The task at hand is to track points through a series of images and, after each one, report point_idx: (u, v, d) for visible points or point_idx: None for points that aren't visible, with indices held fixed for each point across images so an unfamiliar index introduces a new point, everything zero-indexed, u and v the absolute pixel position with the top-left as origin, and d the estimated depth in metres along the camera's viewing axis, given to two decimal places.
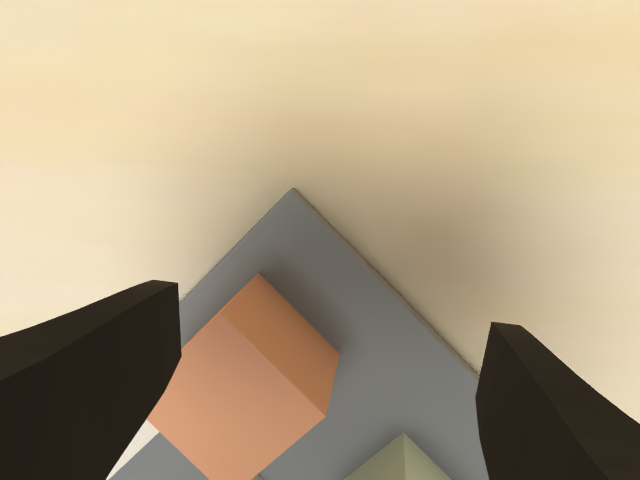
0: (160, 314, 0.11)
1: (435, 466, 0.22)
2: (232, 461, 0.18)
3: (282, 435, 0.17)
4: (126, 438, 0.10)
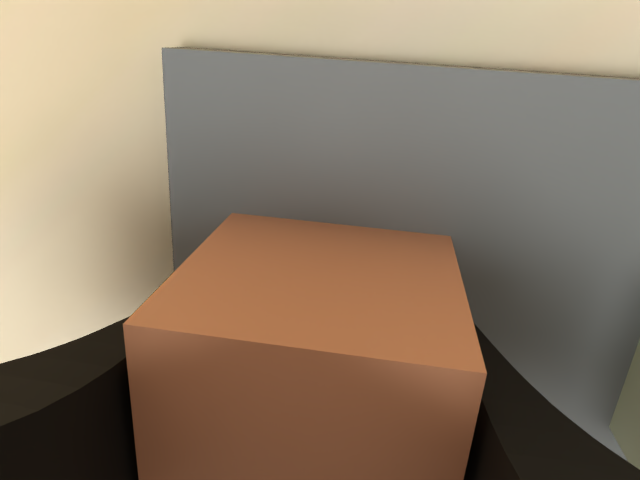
0: None
1: None
2: None
3: (431, 464, 0.07)
4: None
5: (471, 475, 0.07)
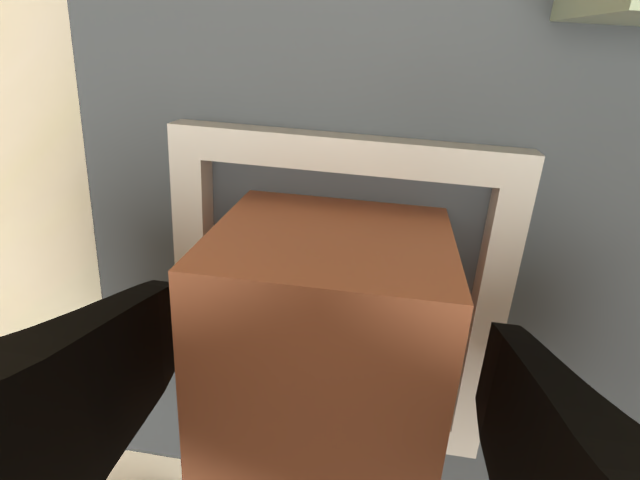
0: (160, 314, 0.11)
1: None
2: (388, 478, 0.09)
3: (429, 388, 0.08)
4: (126, 438, 0.10)
5: None
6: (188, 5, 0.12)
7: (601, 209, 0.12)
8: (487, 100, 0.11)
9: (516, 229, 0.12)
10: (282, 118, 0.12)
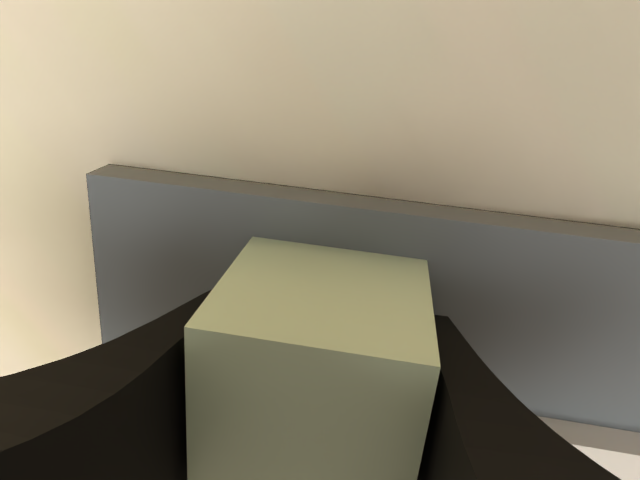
0: None
1: None
2: None
3: None
4: None
5: (439, 470, 0.07)
6: None
7: (588, 360, 0.11)
8: None
9: (595, 457, 0.11)
10: None
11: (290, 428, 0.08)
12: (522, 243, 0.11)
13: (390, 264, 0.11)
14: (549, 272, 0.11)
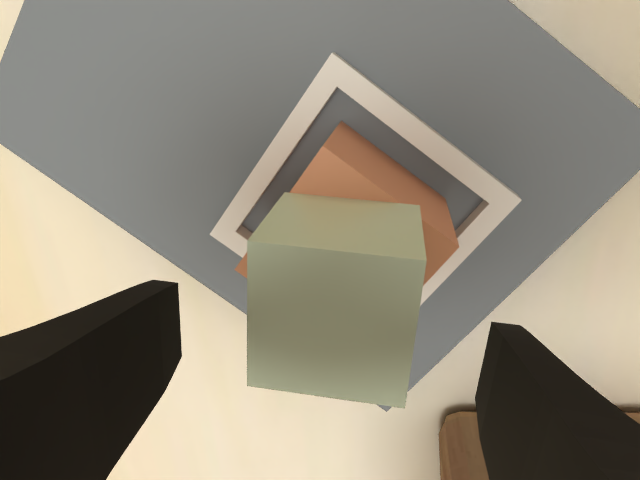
0: (160, 314, 0.11)
1: None
2: None
3: (359, 192, 0.15)
4: (126, 438, 0.10)
5: None
6: (168, 185, 0.21)
7: (393, 31, 0.18)
8: (292, 65, 0.18)
9: (367, 89, 0.18)
10: (243, 177, 0.20)
11: (322, 314, 0.12)
12: None
13: (391, 207, 0.14)
14: None
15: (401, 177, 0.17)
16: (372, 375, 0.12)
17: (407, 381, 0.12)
